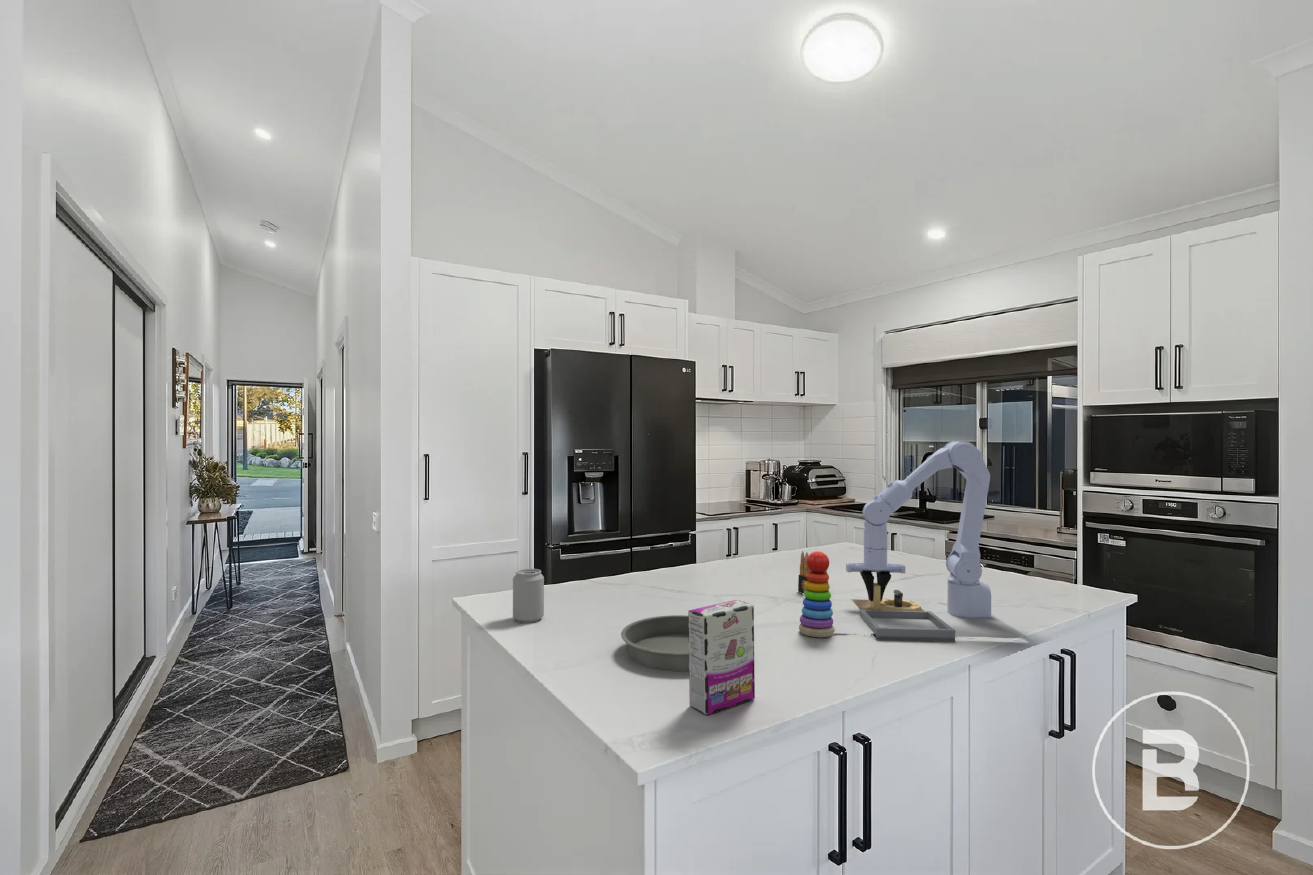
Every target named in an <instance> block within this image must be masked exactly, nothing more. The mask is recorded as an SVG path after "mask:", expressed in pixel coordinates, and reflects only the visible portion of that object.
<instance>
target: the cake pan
mask: <svg viewBox="0 0 1313 875" xmlns="http://www.w3.org/2000/svg"><path fill="white" fill-rule="evenodd" d="M620 637H621V639H622V640H623V642H624V643H626V646H627V649H628V653H629V656H630V658H631V659H632V660H633V661H634V662H636V663H638V664H641V665H643V666H645V667H649V668H653V669H656V670H657V669H658V670H663V671H672V672H673V671H675V672H677V671H678V672H689V618H688V615H684V614H683V615H681V614H680V615H678V614H677V615H676V614H675V615H673V614H672V615H671V614H670V615H657V616H652V617H647V618H642V619H639V620H636V621H633V622H631V623H629V624H627V625H626V626H625V627H623V629H622V630H621V633H620Z"/></svg>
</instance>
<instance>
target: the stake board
mask: <svg viewBox="0 0 1313 875" xmlns="http://www.w3.org/2000/svg"><path fill="white" fill-rule="evenodd" d="M851 601H852V602H853V603H854V604H855V606H856V607H857V608H858V609H859V611H860V610H874V609H873V608H872V607H871V606H870V600H869V599H851ZM889 606H894V605H889ZM902 607H907V606H902ZM921 611H925V610H924V609H923V608H922V607H921Z"/></svg>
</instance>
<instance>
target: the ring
mask: <svg viewBox="0 0 1313 875" xmlns="http://www.w3.org/2000/svg"><path fill="white" fill-rule="evenodd" d="M880 587H881V586H880V585H878V584H877V582H874V584H873V601H870V606H871V607H872V608H873V609H874V610H896V611H921V608H922V606H921V605H920V604H919V603H917V602H916V601H912V600H907V599H904V598H902V606H907V607H894V606H889V605H894V598H890V597H889V598H885V597H884V598H882V601H880Z"/></svg>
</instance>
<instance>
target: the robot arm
mask: <svg viewBox="0 0 1313 875" xmlns="http://www.w3.org/2000/svg"><path fill="white" fill-rule="evenodd" d="M953 468H954V469H956V470H958V472H959V473H960V474H961V475H962V476H963V477H964V479H965V480H966V482H965V483H966V484H965V489H964V495H963V500H962V506H961V510H960V511H961V512H960V517H959V523H958V528H957V535H956V540H955V542H954V544H953V546H952V549H951V552H950V554H949V555H948V556H947V558H946V560H945V566H946V570H947V571H948V572H949V573H950V574H949V576H948V577H947V606H946V607H947V608H946V609H947V610H946V611H947V613H948V614H950V615H951V616H955V617H961V618H973V619H974V618H992V593H991V592H992V591H991V588H990V585H989V584H988V583H987V582H983V581H980V579H981V577H982V575H983V570H982V569H983V568H982V566H981V552H980V547H979V545H980V540H981V532H982V528H983V522H984V516H985V510H986V505H987V504H986V503H987V499H988V493H989V488H990V482H991V474H990V473H991V472H990V471H989V470H988V467H987V465H986V463H985V460H984V458H983V453H982V451H981V450H980V449H978V447H977V446H975V445H974V444H973V443H971V442H969V441H966V440H965V441H957V440H952V441H949V442H947V443H946V444H945V445H944V446H943V447H941V448H939V449H938V450H936V451H935V452H934V453H932V454H931V455H930V456H929V457H928V458H927V459H926V460H924V461H923V462H922V463H921V464H920V465H919V466H918V467H917V468H916V469H914V470H913V471H912V472H911V473H910V474H909V475H908V476H907V477H906V478H905V479H903V480H900V479H898V480H897V479H896V480H894V481H889V482H888V483H887V484H886V485H887V486H888V487H886V488H885V489H884V490H882V491H881V492H880V493H879V494H878V495H876V494H875V495H873V497H872V498H873V500H869V501H868V502H867V503H865V505H864V506H863V509H862V512H861V513H862V516H863V517H864V522H863V524H864V529H863V562H853V563H852V562H851V563H845V571H846V572H847V573H859V574H860V576H861V578H862V580H863V582H864V585H865V589H866V592H867V598H868V599H867V600H870V601H873V584H874V583H875V581H874V580H875V576H874V574H873V573H876V583H877V584H878V585H880V586H881V587H880V601H882V599H884V598H883V597H884V594H885V590H886V588H887V585H888V584H889V582H890V581H891V579H892V574H891V573H894V574H895V573H897V574H906V565H905V564H901V563H900V564H898V563H888V530H887V525H888V524H887V522H888V521H889V519H890V516H891V514H894V513H895V512H896V511H897V510H899V508H901V507H902V506H904V505H905V504H906V503H907V502H908V501H909V500H911V499H912V498H913V492H914V489H916V488H918V486H920V485H922V483H923V482H926V480H928V479H929V478H930V477H931V476H933V475H934V474H936V473H937V472H938V471H941V470H947V469H953Z"/></svg>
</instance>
